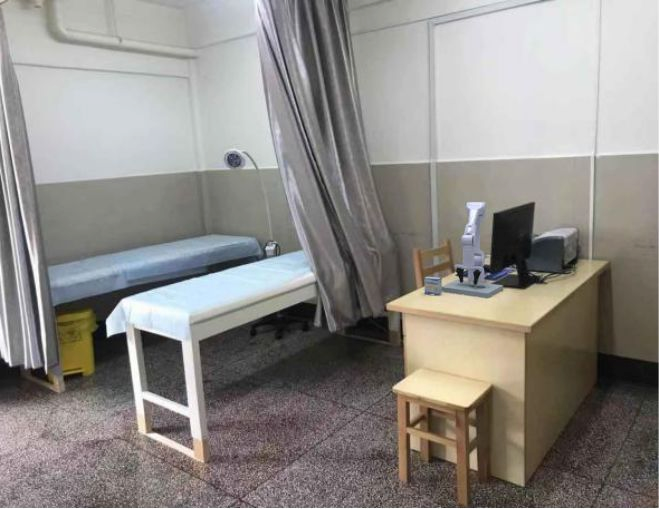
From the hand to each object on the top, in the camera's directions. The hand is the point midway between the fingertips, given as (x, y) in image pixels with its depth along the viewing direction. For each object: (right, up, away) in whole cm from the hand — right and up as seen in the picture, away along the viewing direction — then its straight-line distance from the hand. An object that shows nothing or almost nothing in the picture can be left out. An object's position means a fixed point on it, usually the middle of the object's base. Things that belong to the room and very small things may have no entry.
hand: (468, 283), depth 284 cm
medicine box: (-19, -6, -2) cm, 20 cm away
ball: (+2, 0, -1) cm, 2 cm away
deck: (+2, -4, 0) cm, 4 cm away
